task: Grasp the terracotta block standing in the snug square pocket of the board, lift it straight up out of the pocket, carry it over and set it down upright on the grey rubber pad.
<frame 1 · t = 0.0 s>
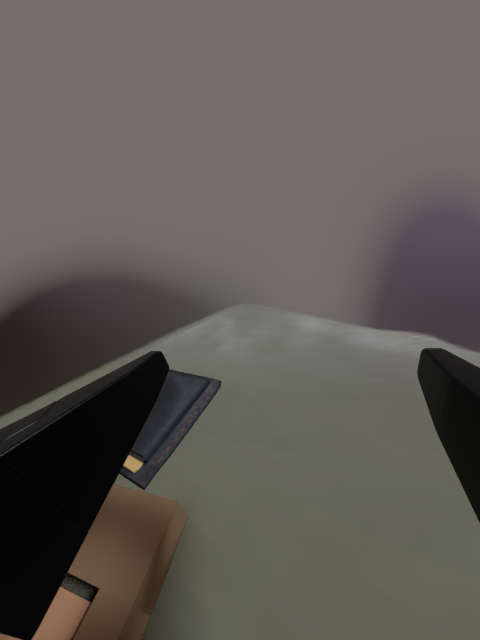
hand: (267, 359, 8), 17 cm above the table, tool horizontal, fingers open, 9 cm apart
block: (9, 639, 12), in the pocket board
dark blue flat slab: (142, 409, 32), on the table
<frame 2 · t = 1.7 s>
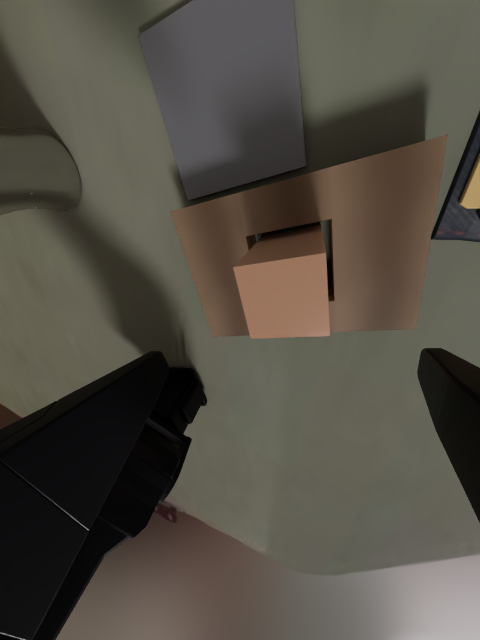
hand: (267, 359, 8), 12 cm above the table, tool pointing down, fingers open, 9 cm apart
block: (289, 275, 15), in the pocket board
pad: (227, 104, 14), on the table
pocket board: (293, 259, 18), on the table
beer glass: (54, 172, 20), on the table
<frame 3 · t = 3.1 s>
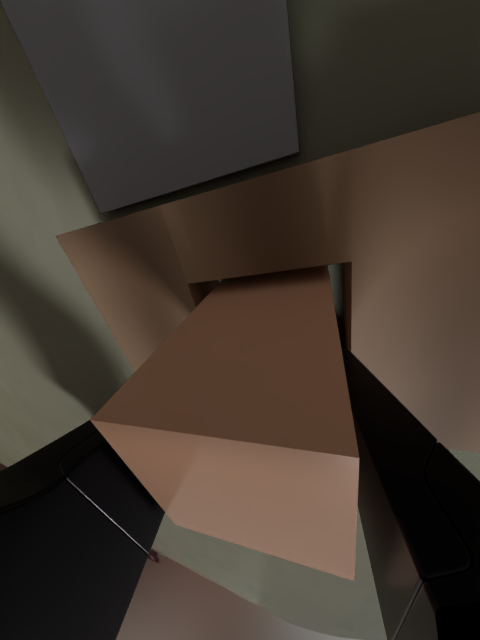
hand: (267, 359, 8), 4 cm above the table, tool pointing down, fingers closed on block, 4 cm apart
block: (265, 365, 8), in the pocket board, touching gripper
pad: (139, 27, 7), on the table
pocket board: (280, 310, 11), on the table
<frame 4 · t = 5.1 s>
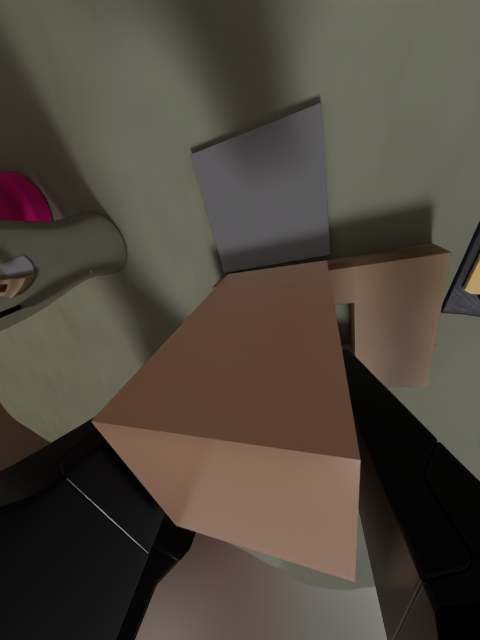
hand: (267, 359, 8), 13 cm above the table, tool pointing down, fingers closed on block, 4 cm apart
block: (266, 366, 8), point 13 cm above the table, touching gripper
pad: (263, 205, 17), on the table
pepper mill: (29, 208, 23), on the table
pocket board: (316, 320, 21), on the table
beer glass: (102, 243, 23), on the table
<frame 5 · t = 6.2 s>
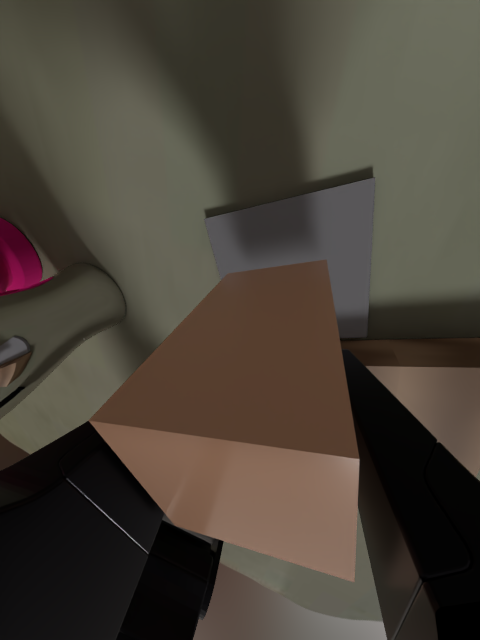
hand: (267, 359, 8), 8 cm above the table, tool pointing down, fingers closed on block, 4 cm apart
block: (265, 366, 8), point 8 cm above the table, touching gripper
pad: (289, 278, 14), on the table
pepper mill: (15, 252, 20), on the table
pocket board: (342, 395, 18), on the table
beer glass: (98, 294, 20), on the table
when the fingers open (5 cm above the table, at t = 7.1 s): block stays where it is, resting on pad.
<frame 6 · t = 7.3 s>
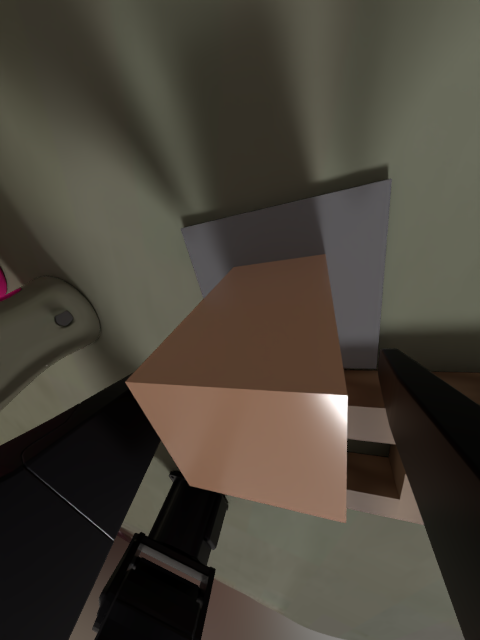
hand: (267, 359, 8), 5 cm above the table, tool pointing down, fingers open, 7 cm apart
block: (269, 349, 8), on the pad
pad: (283, 298, 12), on the table
pocket board: (345, 428, 16), on the table
beer glass: (70, 310, 18), on the table
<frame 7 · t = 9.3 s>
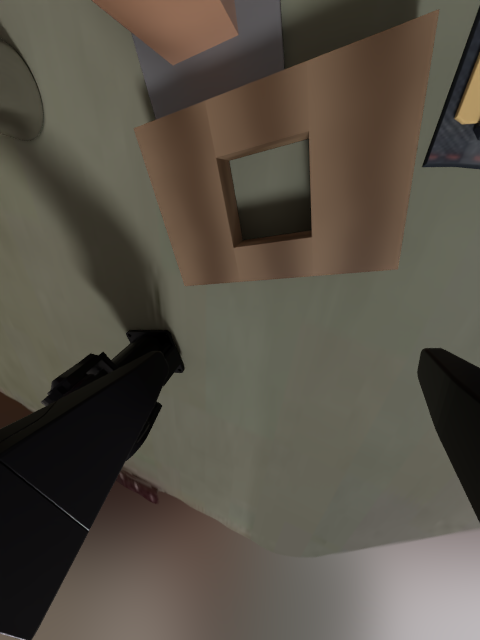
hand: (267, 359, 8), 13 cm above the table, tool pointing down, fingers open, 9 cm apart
pocket board: (271, 196, 17), on the table
beer glass: (13, 94, 18), on the table
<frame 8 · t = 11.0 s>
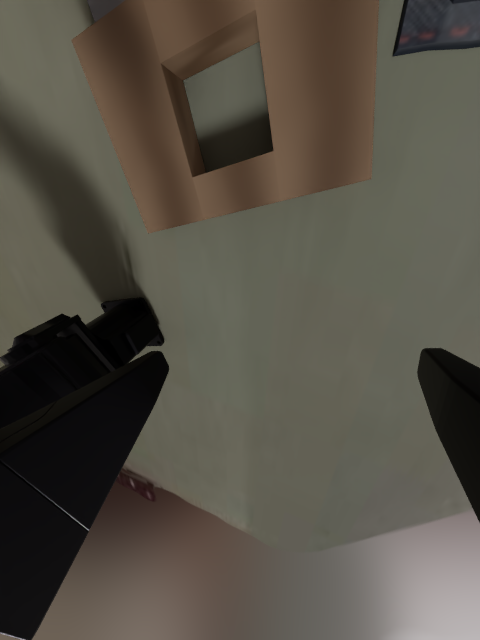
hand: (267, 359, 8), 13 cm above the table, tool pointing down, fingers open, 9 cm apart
pocket board: (231, 118, 15), on the table
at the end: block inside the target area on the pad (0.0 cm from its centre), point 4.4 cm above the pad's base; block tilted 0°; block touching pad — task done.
